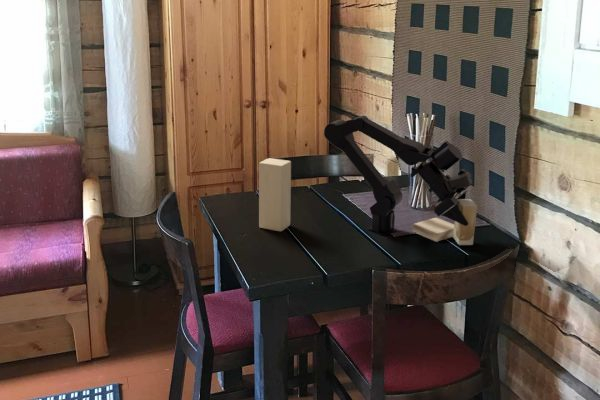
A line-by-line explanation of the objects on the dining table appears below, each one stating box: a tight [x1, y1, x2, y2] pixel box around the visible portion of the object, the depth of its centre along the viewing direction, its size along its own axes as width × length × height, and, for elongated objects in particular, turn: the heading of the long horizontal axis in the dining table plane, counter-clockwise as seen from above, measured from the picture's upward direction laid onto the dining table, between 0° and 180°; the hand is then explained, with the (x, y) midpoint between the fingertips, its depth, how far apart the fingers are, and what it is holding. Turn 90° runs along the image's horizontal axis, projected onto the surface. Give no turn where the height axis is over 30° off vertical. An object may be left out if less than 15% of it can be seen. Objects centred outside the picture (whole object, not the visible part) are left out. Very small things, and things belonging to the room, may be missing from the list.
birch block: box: [412, 217, 455, 242], centre depth 210 cm, size 10×10×3 cm
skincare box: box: [452, 198, 478, 246], centre depth 200 cm, size 6×4×12 cm
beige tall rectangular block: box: [258, 157, 292, 232], centre depth 212 cm, size 8×7×21 cm
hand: (469, 220), depth 199 cm, fingers closed on skincare box, 7 cm apart
